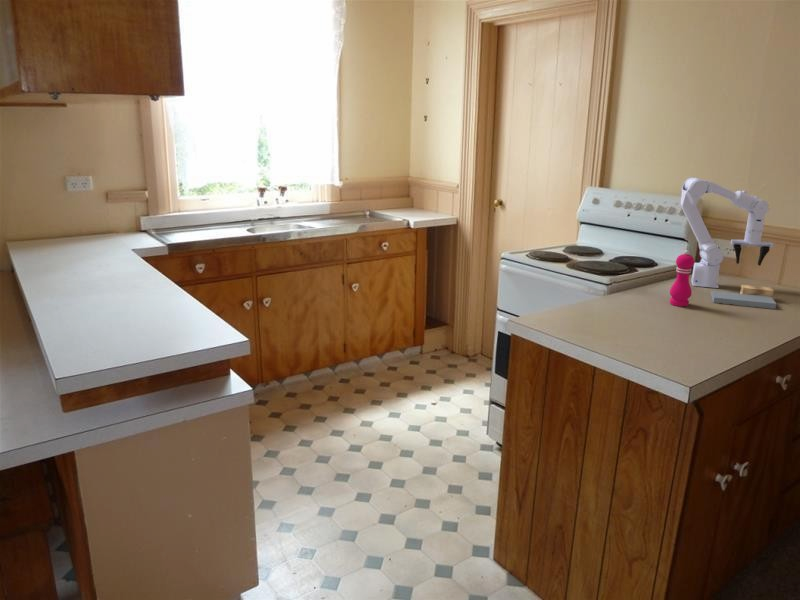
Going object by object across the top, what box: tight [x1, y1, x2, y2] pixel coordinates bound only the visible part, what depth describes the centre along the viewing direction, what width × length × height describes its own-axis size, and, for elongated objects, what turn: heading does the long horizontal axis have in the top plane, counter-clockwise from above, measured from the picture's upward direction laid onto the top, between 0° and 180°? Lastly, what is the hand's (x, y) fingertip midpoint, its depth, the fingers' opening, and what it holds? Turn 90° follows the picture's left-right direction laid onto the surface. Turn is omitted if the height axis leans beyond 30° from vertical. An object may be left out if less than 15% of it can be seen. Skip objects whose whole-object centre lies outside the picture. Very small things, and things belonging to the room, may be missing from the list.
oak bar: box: [739, 284, 775, 299], centre depth 236 cm, size 10×5×4 cm, turn 70°
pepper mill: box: [669, 249, 695, 307], centre depth 225 cm, size 7×7×20 cm
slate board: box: [710, 290, 777, 310], centre depth 231 cm, size 20×10×2 cm, turn 70°
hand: (748, 264), depth 250 cm, fingers open, 7 cm apart
